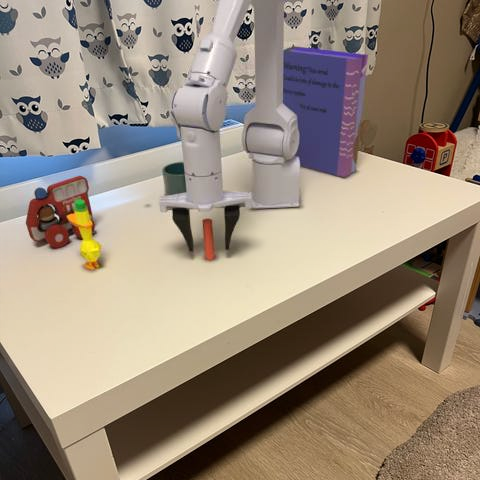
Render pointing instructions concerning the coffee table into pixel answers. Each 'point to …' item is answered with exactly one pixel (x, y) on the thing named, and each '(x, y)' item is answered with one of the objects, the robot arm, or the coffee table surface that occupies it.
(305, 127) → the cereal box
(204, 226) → the red cylinder
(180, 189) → the can
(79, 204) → the toy figure
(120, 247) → the coffee table surface
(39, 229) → the toy fire truck
